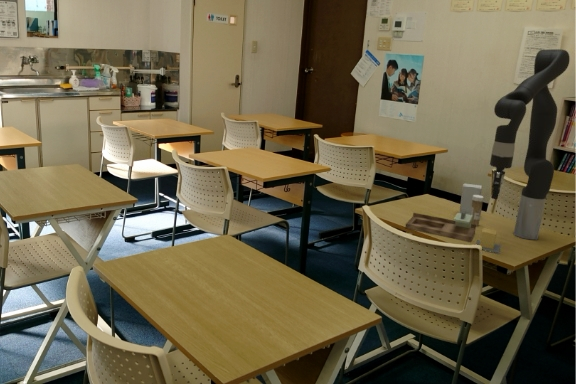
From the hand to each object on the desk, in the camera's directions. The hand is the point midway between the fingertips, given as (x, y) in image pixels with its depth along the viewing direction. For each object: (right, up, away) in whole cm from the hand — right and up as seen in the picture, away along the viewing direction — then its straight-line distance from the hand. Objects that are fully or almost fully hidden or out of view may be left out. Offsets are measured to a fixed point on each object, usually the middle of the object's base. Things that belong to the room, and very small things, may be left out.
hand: (495, 196), depth 197 cm
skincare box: (+4, -10, +43) cm, 44 cm away
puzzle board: (-16, -15, +18) cm, 28 cm away
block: (-1, -19, +5) cm, 20 cm away
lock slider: (-8, -14, +15) cm, 22 cm away
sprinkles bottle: (+2, -13, +30) cm, 33 cm away
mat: (-2, -20, +5) cm, 20 cm away
